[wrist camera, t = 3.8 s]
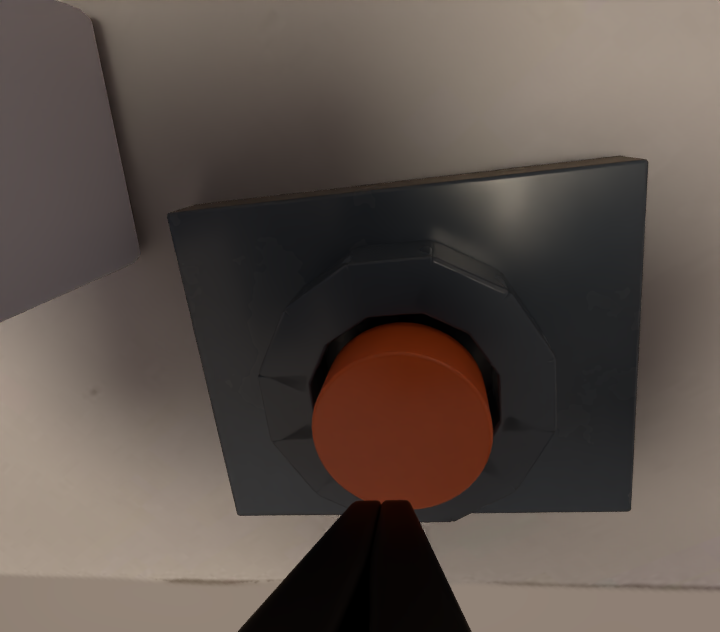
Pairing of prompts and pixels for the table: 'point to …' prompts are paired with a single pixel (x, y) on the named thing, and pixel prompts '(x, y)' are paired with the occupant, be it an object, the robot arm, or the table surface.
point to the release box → (430, 323)
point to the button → (403, 416)
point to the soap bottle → (56, 159)
